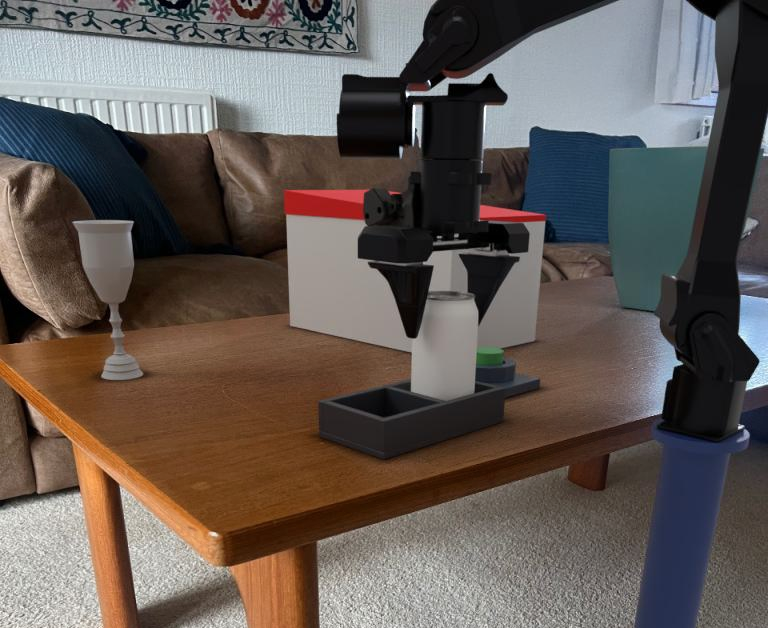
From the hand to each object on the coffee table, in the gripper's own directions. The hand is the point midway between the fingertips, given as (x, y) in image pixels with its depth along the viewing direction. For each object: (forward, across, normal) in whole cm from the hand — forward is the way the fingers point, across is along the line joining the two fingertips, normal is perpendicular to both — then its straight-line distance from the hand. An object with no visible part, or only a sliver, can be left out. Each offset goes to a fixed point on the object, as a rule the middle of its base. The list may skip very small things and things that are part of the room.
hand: (443, 332), depth 78 cm
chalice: (+9, +15, -40) cm, 44 cm away
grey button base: (+9, -15, -6) cm, 19 cm away
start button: (+6, -15, -6) cm, 17 cm away
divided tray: (+9, +4, 0) cm, 10 cm away
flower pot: (+9, -88, -21) cm, 91 cm away
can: (+8, 0, 0) cm, 9 cm away
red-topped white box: (+9, -32, -36) cm, 49 cm away
